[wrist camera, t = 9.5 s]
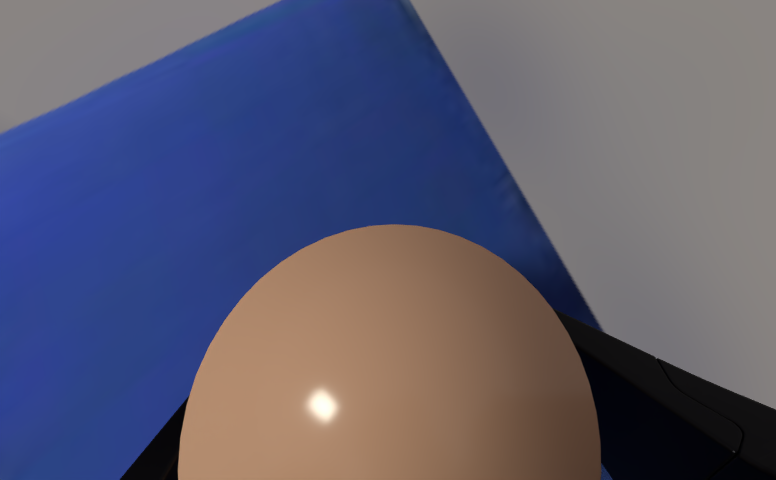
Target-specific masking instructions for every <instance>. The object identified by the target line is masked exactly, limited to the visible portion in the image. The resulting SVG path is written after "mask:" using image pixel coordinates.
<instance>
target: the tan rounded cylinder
mask: <svg viewBox="0 0 776 480" xmlns="http://www.w3.org/2000/svg"><path fill="white" fill-rule="evenodd" d="M178 480H601V447H600V435H599V427H598V420H597V413H596V408H595V404H594V400H593V396H592V392H591V388H590V384H589V381H588V378H587V375H586V373H585V370H584V367H583V364H582V362H581V359H580V356H579V354H578V352H577V350H576V348H575V346H574V344H573V342H572V340H571V338H570V336H569V334H568V332H567V331H566V329H565V327H564V326H563V324H562V323H561V321H560V320H559V318H558V316H557V315H556V313H555V312H554V310H553V309H552V308H551V306H550V305H549V304H548V303H547V301H546V300H545V299H544V298H543V296H542V295H541V294H540V293H539V291H538V290H537V289H536V288H535V287H534V286H533V285H532V284H531V283H530V282H529V281H528V280H527V279H526V278H525V277H524V276H523V275H522V274H520V273H519V272H518V271H517V270H515V269H514V268H513V267H512V266H510V265H509V264H508V263H506V262H505V261H504V260H503V259H501V258H500V257H498V256H496V255H495V254H493V253H492V252H490V251H488V250H487V249H485V248H483V247H482V246H480V245H477V244H475V243H473V242H471V241H469V240H466V239H464V238H462V237H459V236H456V235H453V234H450V233H447V232H444V231H441V230H436V229H431V228H426V227H420V226H411V225H379V226H368V227H363V228H358V229H353V230H348V231H345V232H342V233H339V234H336V235H333V236H329V237H326V238H324V239H322V240H320V241H318V242H315V243H313V244H311V245H309V246H307V247H305V248H303V249H301V250H300V251H298V252H296V253H295V254H293V255H292V256H290V257H288V258H287V259H285V260H284V261H282V262H281V263H279V264H278V265H277V266H276V267H274V268H273V269H272V270H271V271H270V272H268V273H267V274H266V275H265V276H263V277H262V278H261V279H260V280H259V281H258V282H257V283H256V284H255V285H254V286H253V287H252V288H251V289H250V290H249V291H248V292H247V293H246V294H245V295H244V296H243V297H242V299H241V300H240V301H239V302H238V304H237V305H236V306H235V308H234V309H233V310H232V312H231V313H230V314H229V315H228V317H227V318H226V319H225V321H224V322H223V324H222V326H221V327H220V329H219V331H218V332H217V334H216V336H215V337H214V339H213V341H212V342H211V344H210V346H209V348H208V350H207V352H206V354H205V357H204V359H203V361H202V363H201V365H200V368H199V370H198V372H197V374H196V377H195V381H194V384H193V387H192V390H191V393H190V396H189V399H188V402H187V406H186V411H185V416H184V421H183V427H182V432H181V437H180V450H179V463H178Z"/></svg>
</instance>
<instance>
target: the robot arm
mask: <svg viewBox="0 0 776 480" xmlns="http://www.w3.org/2000/svg"><path fill="white" fill-rule="evenodd" d="M552 309H553V308H552ZM553 310H554V312H555V313H556V315H557V316H558V318H559V320H560V321H561V323H562V324H563V326H564V327H565V329H566V331H567V332H568V334H569V336H570V338H571V340H572V342H573V344H574V346H575V348H576V350H577V352H578V354H579V356H580V359H581V362H582V364H583V367H584V370H585V373H586V375H587V378H588V381H589V384H590V388H591V392H592V396H593V400H594V404H595V408H596V413H597V420H598V427H599V435H600V447H601V463H602V464H603V466H604V467H605V469H606V470H607V472H608V473H609V474H610V476H611V477H612V479H613V480H776V410H775V409H773V408H771V407H768V406H766V405H763V404H761V403H759V402H756V401H754V400H751V399H749V398H746V397H744V396H741V395H739V394H737V393H734V392H732V391H730V390H727V389H725V388H722V387H720V386H718V385H716V384H713V383H711V382H709V381H706V380H704V379H702V378H700V377H697V376H695V375H693V374H691V373H689V372H686V371H684V370H682V369H680V368H678V367H675V366H673V365H671V364H669V363H667V362H665V361H663V360H660V359H658V358H657V359H656V358H655V357H654V356H652V355H650V354H648V353H646V352H644V351H642V350H640V349H637V348H635V347H633V346H631V345H629V344H627V343H625V342H622V341H620V340H618V339H616V338H614V337H612V336H610V335H608V334H606V333H604V332H602V331H599V330H597V329H595V328H593V327H591V326H589V325H587V324H585V323H583V322H581V321H578V320H576V319H574V318H572V317H570V316H568V315H566V314H564V313H562V312H559V311H557V310H555V309H553ZM189 396H190V395H189ZM188 399H189V397H188V398H187V399H186V400H185V401H184V403H183V404H182V405H181V406H180V407H179V409H178V410H177V411H176V412H175V413H174V415H173V416H172V417H171V418H170V419H169V421H168V422H167V423H166V424H165V425H164V427H163V428H162V429H161V430H160V432H159V433H158V434H157V435H156V436H155V438H154V439H153V440H152V441H151V442H150V444H149V445H148V446H147V447H146V448H145V450H144V451H143V452H142V453H141V454H140V456H139V457H138V458H137V459H136V460H135V462H134V463H133V464H132V465H131V467H130V468H129V469H128V470H127V471H126V473H125V474H124V475H123V476H122V477H121V479H120V480H178V463H179V450H180V437H181V432H182V427H183V421H184V416H185V411H186V406H187V402H188Z"/></svg>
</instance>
